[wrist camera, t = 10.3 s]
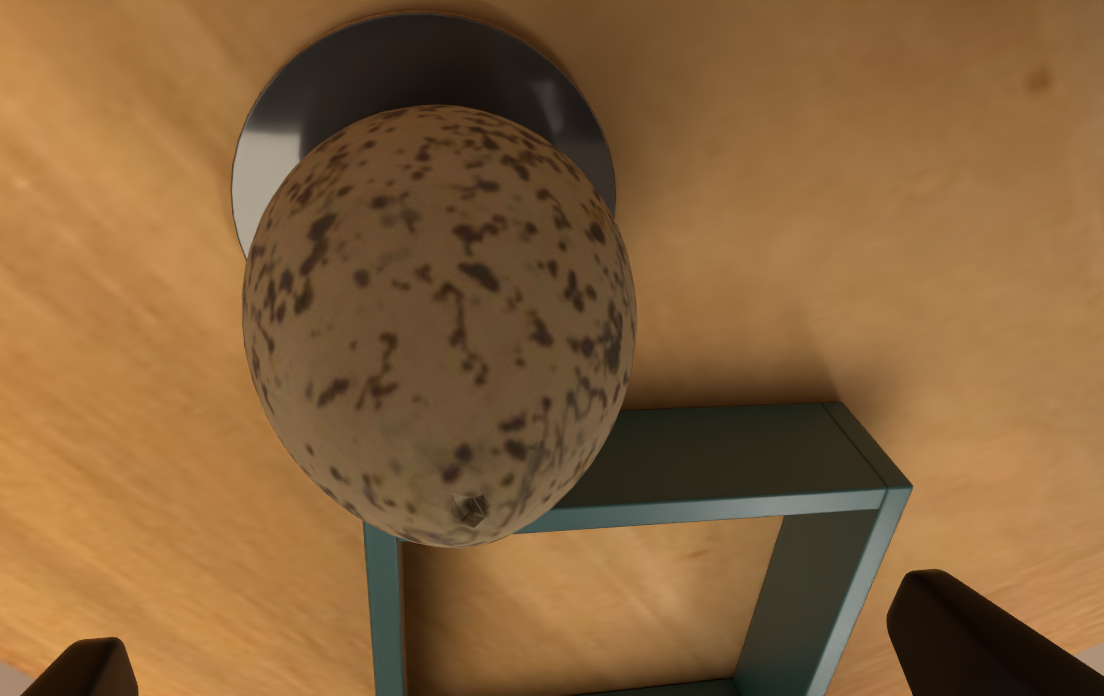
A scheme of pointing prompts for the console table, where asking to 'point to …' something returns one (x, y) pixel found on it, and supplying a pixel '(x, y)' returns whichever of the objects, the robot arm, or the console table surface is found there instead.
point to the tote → (717, 494)
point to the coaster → (407, 97)
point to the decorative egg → (440, 322)
